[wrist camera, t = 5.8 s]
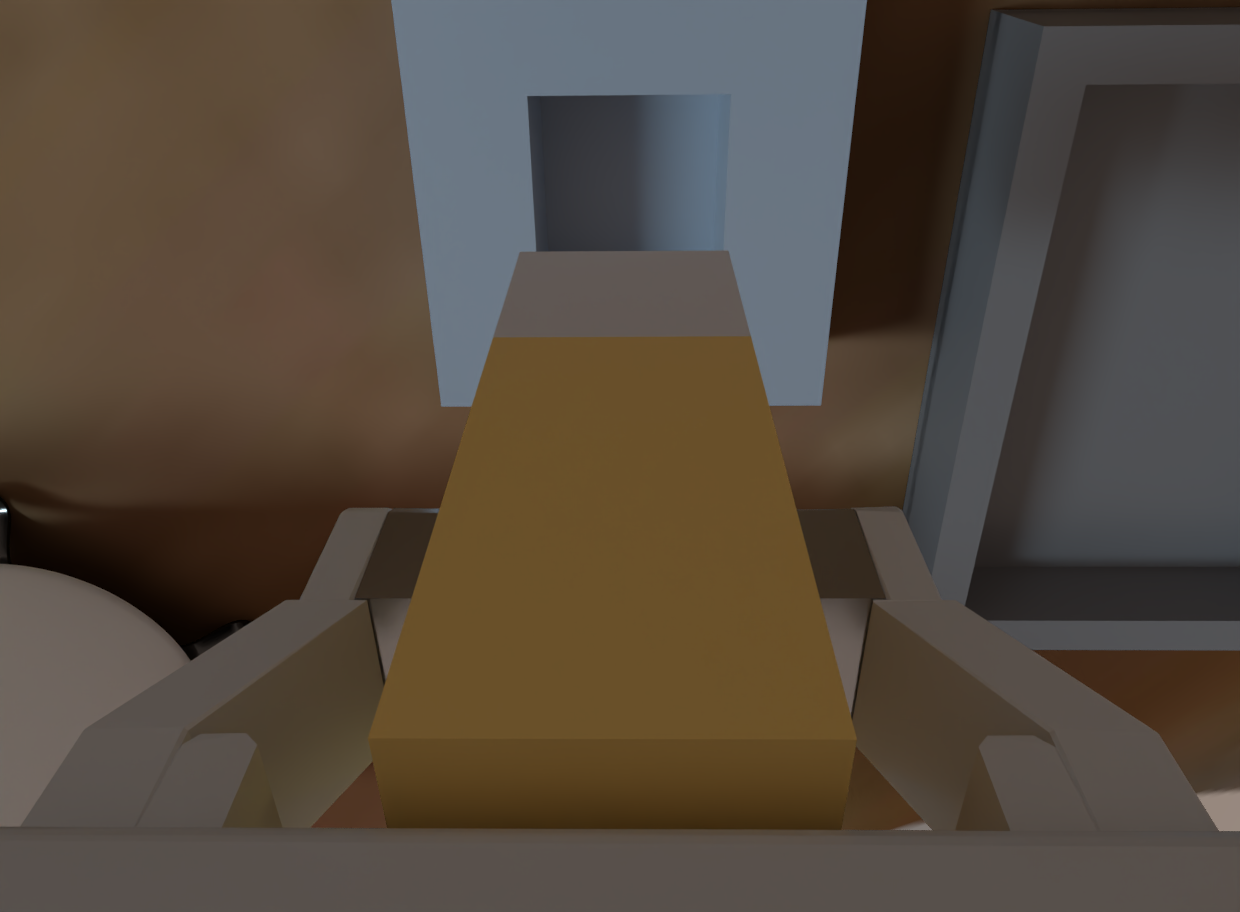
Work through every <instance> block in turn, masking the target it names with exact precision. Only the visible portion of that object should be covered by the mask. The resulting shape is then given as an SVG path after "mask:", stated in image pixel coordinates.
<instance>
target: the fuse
mask: <svg viewBox="0 0 1240 912" xmlns="http://www.w3.org/2000/svg"><path fill="white" fill-rule="evenodd" d="M368 742H369V746H370V751H371V755H372V760H373V764H374V769H375V774H376V778H377V783H378V787H379V792H380V797H381V801H382V806H383V810H384V815H385V820H386V824H387V828H479V829H775V830H841V828H842V822H843V817H844V811H845V805H846V799H847V794H848V788H849V782H850V777H851V771H852V765H853V760H854V754H855V748H856V743H857V737H856V734H855V730H854V726H853V722H852V718H851V715H850V711H849V707H848V703H847V699H846V696H845V692H844V688H843V684H842V680H841V677H840V673H839V669H838V665H837V661H836V658H835V654H834V650H833V646H832V642H831V639H830V635H829V631H828V627H827V623H826V620H825V616H824V612H823V608H822V604H821V601H820V597H819V593H818V589H817V585H816V582H815V578H814V574H813V570H812V566H811V563H810V559H809V555H808V551H807V547H806V544H805V540H804V536H803V532H802V528H801V525H800V521H799V517H798V513H797V509H796V506H795V502H794V498H793V494H792V490H791V487H790V483H789V479H788V475H787V471H786V468H785V464H784V460H783V456H782V452H781V449H780V445H779V441H778V437H777V433H776V430H775V426H774V422H773V418H772V414H771V411H770V407H769V403H768V399H767V395H766V392H765V388H764V384H763V380H762V376H761V373H760V369H759V365H758V361H757V357H756V354H755V350H754V346H753V342H752V338H751V335H750V331H749V327H748V323H747V319H746V316H745V312H744V308H743V304H742V300H741V297H740V293H739V289H738V285H737V281H736V278H735V274H734V270H733V266H732V262H731V259H730V255H729V251H728V250H720V251H552V252H520V253H519V256H518V259H517V263H516V266H515V269H514V272H513V275H512V279H511V282H510V285H509V288H508V291H507V295H506V298H505V301H504V304H503V307H502V311H501V314H500V317H499V320H498V323H497V327H496V330H495V333H494V336H493V339H492V343H491V346H490V349H489V352H488V355H487V359H486V362H485V365H484V368H483V371H482V375H481V378H480V381H479V384H478V387H477V391H476V394H475V397H474V400H473V403H472V407H471V410H470V413H469V416H468V419H467V423H466V426H465V429H464V432H463V435H462V439H461V442H460V445H459V448H458V451H457V455H456V458H455V461H454V464H453V467H452V471H451V474H450V477H449V480H448V483H447V487H446V490H445V493H444V496H443V499H442V503H441V506H440V509H439V512H438V515H437V519H436V522H435V525H434V528H433V531H432V535H431V538H430V541H429V544H428V547H427V551H426V554H425V557H424V560H423V563H422V567H421V570H420V573H419V576H418V579H417V583H416V586H415V589H414V592H413V595H412V599H411V602H410V605H409V608H408V611H407V615H406V618H405V621H404V624H403V627H402V631H401V634H400V637H399V640H398V643H397V647H396V650H395V653H394V656H393V659H392V663H391V666H390V669H389V672H388V675H387V679H386V682H385V685H384V688H383V691H382V695H381V698H380V701H379V704H378V707H377V711H376V714H375V717H374V720H373V723H372V727H371V730H370V733H369V736H368Z"/></svg>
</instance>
